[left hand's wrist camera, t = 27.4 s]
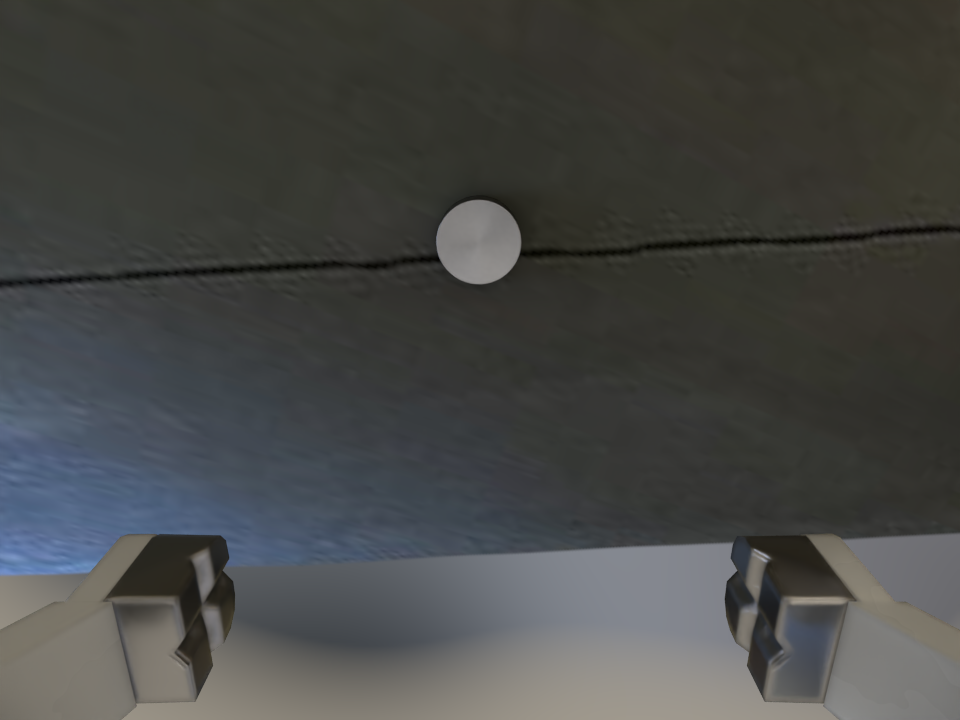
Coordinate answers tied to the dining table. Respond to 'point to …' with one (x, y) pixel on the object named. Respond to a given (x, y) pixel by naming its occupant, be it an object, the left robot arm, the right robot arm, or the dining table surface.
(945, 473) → the dining table surface
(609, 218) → the dining table surface
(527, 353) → the dining table surface
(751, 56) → the dining table surface
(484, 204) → the lid
